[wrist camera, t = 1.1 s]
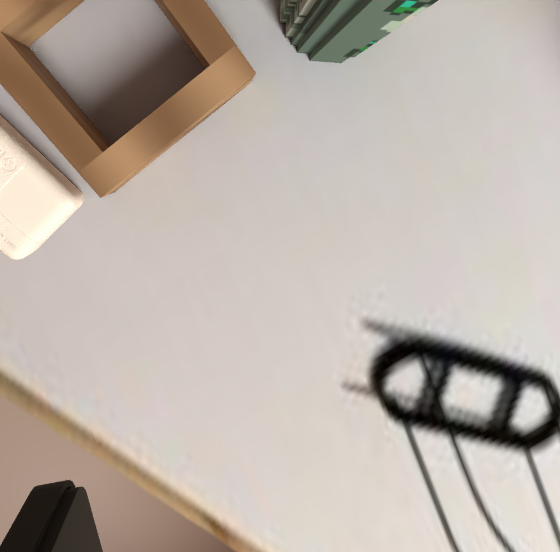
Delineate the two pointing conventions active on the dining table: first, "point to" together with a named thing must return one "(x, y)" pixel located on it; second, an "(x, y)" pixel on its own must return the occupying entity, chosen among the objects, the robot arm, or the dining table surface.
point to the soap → (30, 195)
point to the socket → (150, 131)
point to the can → (343, 24)
